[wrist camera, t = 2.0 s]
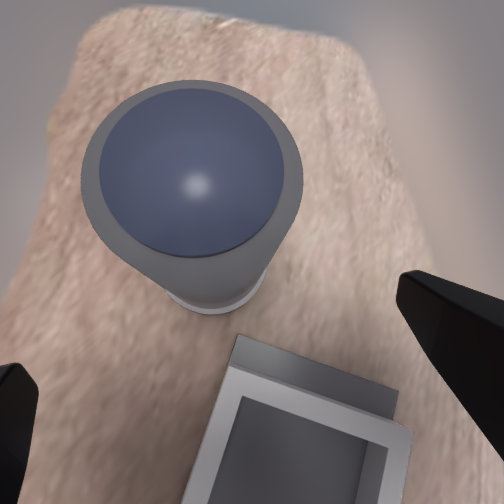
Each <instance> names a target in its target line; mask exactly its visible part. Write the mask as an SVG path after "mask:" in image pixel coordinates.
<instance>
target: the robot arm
mask: <svg viewBox="0 0 504 504" xmlns="http://www.w3.org/2000/svg"><path fill="white" fill-rule="evenodd" d="M396 303H397V306H398V308H399V310H400V312H401V313H402V315H403V317H404V318H405V320H406V322H407V323H408V325H409V327H410V329H411V330H412V332H413V334H414V335H415V337H416V339H417V340H418V342H419V344H420V345H421V347H422V349H423V351H424V352H425V354H426V355H427V357H428V358H429V360H430V361H431V363H432V364H433V366H434V367H435V368H436V370H437V371H438V372H439V374H440V375H441V377H442V378H443V379H444V381H445V382H446V383H447V385H448V386H449V387H450V389H451V390H452V392H453V393H454V394H455V396H456V397H457V398H458V400H459V401H460V402H461V404H462V405H463V407H464V408H465V409H466V411H467V412H468V413H469V415H470V416H471V417H472V419H473V420H474V421H475V423H476V424H477V426H478V427H479V428H480V430H481V431H482V432H483V434H484V435H485V436H486V438H487V439H488V441H489V442H490V443H491V445H492V446H493V447H494V449H495V450H496V451H497V453H498V454H499V455H500V457H501V458H502V460H503V461H504V300H501V299H498V298H495V297H493V296H490V295H487V294H484V293H482V292H478V291H476V290H473V289H470V288H468V287H465V286H462V285H459V284H456V283H454V282H451V281H448V280H445V279H442V278H440V277H437V276H434V275H431V274H428V273H426V272H423V271H420V270H413V271H408V272H404V273H402V274H401V275H400V277H399V282H398V288H397V294H396ZM38 396H39V391H38V387H37V384H36V383H35V381H34V380H33V379H32V377H31V376H30V375H29V373H28V372H27V371H26V369H25V368H24V367H23V366H22V365H21V364H20V363H10V364H6V365H1V366H0V504H17V502H18V498H19V494H20V491H21V487H22V483H23V480H24V476H25V471H26V467H27V462H28V457H29V452H30V446H31V439H32V433H33V427H34V421H35V415H36V409H37V403H38Z"/></svg>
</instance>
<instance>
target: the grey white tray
mask: <svg viewBox="0 0 504 504" xmlns="http://www.w3.org/2000/svg"><path fill="white" fill-rule="evenodd" d="M398 392H399V391H397V390H394V389H392V388H389V387H386V386H383V385H380V384H377V383H375V382H372V381H369V380H366V379H363V378H361V377H358V376H355V375H352V374H349V373H347V372H344V371H341V370H338V369H335V368H332V367H330V366H327V365H324V364H321V363H318V362H316V361H313V360H310V359H307V358H304V357H302V356H299V355H296V354H293V353H290V352H287V351H285V350H282V349H279V348H276V347H273V346H271V345H268V344H265V343H262V342H259V341H256V340H254V339H251V338H248V337H245V336H242V335H240V334H238V336H237V339H236V342H235V344H234V347H233V350H232V353H231V356H230V359H229V362H228V365H227V368H226V371H225V374H224V376H223V379H222V382H221V385H220V388H219V391H218V394H217V397H216V400H215V403H214V406H213V409H212V411H211V414H210V417H209V420H208V423H207V426H206V429H205V432H204V435H203V438H202V441H201V444H200V446H199V449H198V452H197V455H196V458H195V461H194V464H193V467H192V470H191V473H190V476H189V478H188V481H187V484H186V487H185V490H184V493H183V496H182V499H181V502H180V504H401V500H402V495H403V490H404V484H405V479H406V473H407V468H408V463H409V457H410V452H411V447H412V441H413V436H414V432H413V431H411V430H409V429H407V428H406V427H404V426H402V425H400V424H398V423H396V422H394V421H393V416H394V411H395V406H396V401H397V397H398Z"/></svg>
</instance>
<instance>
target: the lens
mask: <svg viewBox="0 0 504 504" xmlns="http://www.w3.org/2000/svg"><path fill="white" fill-rule="evenodd" d="M302 192H303V168H302V162H301V157H300V154H299V151H298V148H297V145H296V143H295V141H294V139H293V137H292V135H291V133H290V132H289V130H288V129H287V127H286V126H285V124H284V123H283V122H282V120H281V119H280V118H279V117H278V116H277V115H276V114H275V113H274V112H273V111H272V110H271V109H270V108H269V107H268V106H267V105H265V104H264V103H263V102H261V101H260V100H258V99H257V98H255V97H254V96H252V95H250V94H248V93H246V92H244V91H242V90H240V89H237V88H235V87H232V86H229V85H225V84H222V83H217V82H211V81H203V80H182V81H174V82H168V83H164V84H160V85H157V86H153V87H151V88H148V89H146V90H143V91H141V92H139V93H137V94H135V95H133V96H132V97H130V98H128V99H127V100H125V101H124V102H123V103H121V104H120V105H118V106H117V107H116V108H115V109H114V110H113V111H112V112H111V113H110V114H108V116H107V117H106V118H105V119H104V120H103V121H102V123H101V124H100V125H99V127H98V128H97V130H96V131H95V133H94V134H93V136H92V138H91V140H90V142H89V144H88V147H87V149H86V152H85V156H84V159H83V163H82V170H81V193H82V199H83V204H84V207H85V210H86V213H87V216H88V218H89V220H90V222H91V224H92V226H93V228H94V230H95V231H96V233H97V234H98V236H99V237H100V239H101V240H102V241H103V242H104V243H105V244H106V245H107V247H108V248H109V249H110V250H111V251H112V252H113V253H115V254H116V255H117V256H118V257H120V258H121V259H122V260H123V261H125V262H126V263H128V264H129V265H131V266H132V267H134V268H135V269H137V270H138V271H139V272H141V273H142V274H144V275H145V276H147V277H148V278H150V279H151V280H153V281H154V282H156V283H157V284H159V285H160V286H161V287H163V288H164V289H165V291H166V292H167V293H168V295H169V296H170V297H171V298H172V299H173V300H175V301H176V302H177V303H179V304H180V305H182V306H184V307H185V308H187V309H189V310H191V311H194V312H197V313H201V314H207V315H216V314H223V313H227V312H230V311H233V310H235V309H237V308H239V307H241V306H242V305H244V304H245V303H246V302H247V301H248V300H249V299H250V298H251V297H252V296H253V295H254V294H255V293H256V291H257V290H258V288H259V287H260V285H261V283H262V282H263V279H264V277H265V274H266V270H267V265H268V264H269V262H270V260H271V259H272V257H273V255H274V254H275V252H276V250H277V249H278V247H279V245H280V244H281V242H282V240H283V239H284V237H285V236H286V234H287V232H288V230H289V229H290V227H291V225H292V224H293V222H294V220H295V217H296V215H297V212H298V210H299V206H300V203H301V199H302Z"/></svg>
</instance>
